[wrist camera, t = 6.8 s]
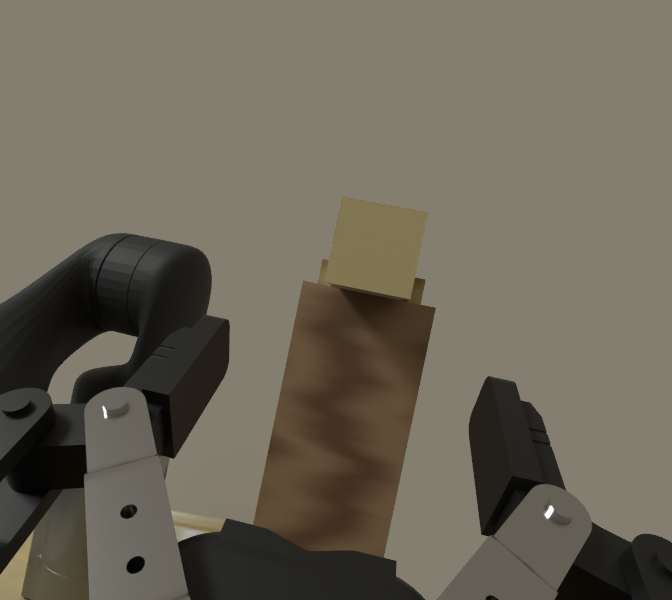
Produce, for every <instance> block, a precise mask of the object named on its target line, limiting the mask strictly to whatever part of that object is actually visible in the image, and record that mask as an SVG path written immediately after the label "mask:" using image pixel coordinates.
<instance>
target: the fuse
mask: <svg viewBox="0 0 672 600" xmlns="http://www.w3.org/2000/svg"><path fill="white" fill-rule="evenodd" d="M427 217H428V212H422V211H417V210H412V209H407V208H401V207H396V206H391V205H385V204H380V203H375V202H369V201H364V200H358V199H353V198H348V197H342V198H341V203H340V208H339V213H338V218H337V222H336V227H335V232H334V237H333V242H332V247H331V251H330V256H329V261H328V266H327V271H326V276H325V281H324V282H326V283H328V284H331V285H333V286H335V287H338V288H341V289H346V290H351V291H356V292H361V293H366V294H371V295H375V296H380V297H385V298H390V299H395V300H409V299H411V294H412V289H413V284H414V280H415V274H416V269H417V265H418V260H419V255H420V251H421V246H422V241H423V236H424V232H425V226H426V222H427Z"/></svg>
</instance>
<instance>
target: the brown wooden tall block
mask: <svg viewBox="0 0 672 600" xmlns="http://www.w3.org/2000/svg"><path fill="white" fill-rule="evenodd" d="M328 261H329V260H324V259H323V261H322V265H321V271H320V275H319V280H318V284H317V283H312V282H307V281H303V284H302V289H301V294H300V299H299V304H298V308H297V314H296V318H295V323H294V328H293V333H292V338H291V343H290V347H289V353H288V358H287V362H286V367H285V372H284V377H283V382H282V387H281V392H280V396H279V401H278V407H277V411H276V416H275V421H274V426H273V431H272V436H271V440H270V446H269V450H268V455H267V460H266V465H265V469H264V474H263V479H262V484H261V489H260V494H259V499H258V504H257V508H256V513H255V518H254V523H253V525H255V526H259V527H263V528H267V529H269V530H271V531H272V532H274V533H276V534H278V535H280V536H281V537H283V538H285V539H287V540H289V541H290V542H292V543H294V544H296V545H298V546H299V547H301V548H303V549H305V550H308V551H342V550H354V551H358V552H362V553H366V554H370V555H374V556H378V557H382V558H384V553H385V548H386V543H387V538H388V534H389V528H390V524H391V519H392V515H393V510H394V505H395V500H396V495H397V490H398V486H399V481H400V476H401V472H402V466H403V462H404V457H405V452H406V448H407V442H408V438H409V433H410V428H411V424H412V418H413V414H414V409H415V404H416V400H417V395H418V390H419V385H420V380H421V376H422V370H423V366H424V361H425V356H426V351H427V347H428V342H429V337H430V333H431V328H432V323H433V318H434V314H435V309H436V308H434V307H429V306H424V305H420V304H421V300H422V294H423V290H424V285H425V279H419V278H415V280H414V284H413V289H412V294H411V299H409V300H395V299H390V298H385V297H380V296H375V295H371V294H366V293H361V292H356V291H351V290H346V289H341V288H338V287H335V286H333V285H331V284H328V283H326V282H324V281H325V276H326V271H327V266H328Z"/></svg>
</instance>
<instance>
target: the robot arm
mask: <svg viewBox="0 0 672 600" xmlns="http://www.w3.org/2000/svg"><path fill="white" fill-rule="evenodd" d="M211 284H212V276H211V268H210V265H209V261H208V259H207V257H206V256H205V255H204V253H203V252H201V251H200V250H199V249H197V248H194V247H191V246H188V245H183V244H179V243H174V242H169V241H164V240H159V239H154V238H149V237H144V236H139V235H133V234H125V233H119V234H110V235H106V236H103V237H100V238H98V239H96V240H94V241H92V242H90V243H89V244H87V245H85V246H84V247H82V248H81V249H79V250H78V251H76V252H75V253H73V254H72V255H71V256H69V257H68V258H67V259H65V260H64V261H62V262H61V263H60V264H58V265H57V266H55V267H54V268H53V269H51V270H50V271H48V272H47V273H46V274H44V275H43V276H42V277H40V278H39V279H37V280H36V281H35V282H33V283H32V284H30V285H29V286H28V287H26V288H25V289H23V290H22V291H20V292H19V293H17V294H16V295H14V296H13V297H11V298H9V299H8V300H7V301H5V302H3V303H2V304H0V574H1V573H2V572H3V570H4V569H5V567H6V566H7V565H8V563H9V562H10V561H11V559H12V558H13V557H14V555H15V554H16V553H17V551H18V550H19V549H20V547H21V546H22V545H23V543H24V542H25V541H26V539H27V538H28V537H29V535H30V534H31V532H32V531H33V530H34V533H33V538H32V543H31V548H30V553H29V558H28V563H27V569H26V574H25V579H24V584H23V589H22V594H21V596H22V597H25V598H28V599H30V600H425V599H424V598H423V597H422V595H421V594H419V593H418V592H417V591H416V590H415V589H414V588H413V587H412V586H410V585H409V584H407V583H406V582H405V581H403V580H402V579H400V578H398V577H396V561H394V560H390V559H386V558H382V557H378V556H374V555H370V554H366V553H362V552H358V551H354V550H342V551H308V550H305V549H303V548H301V547H299V546H298V545H296V544H294V543H292V542H290V541H289V540H287V539H285V538H283V537H281V536H280V535H278V534H276V533H274V532H272V531H271V530H269V529H267V528H263V527H259V526H255V525H251V524H247V523H243V522H239V521H235V520H231V519H226V520H225V523H224V525H223V528H222V530H221V532H211V533H204V534H200V535H196V536H193V537H190V538H187V539H185V540H182V541H180V542H178V543H177V538H176V533H175V528H174V524H173V519H172V514H171V509H170V505H169V500H168V495H167V490H166V486H165V478H166V473H167V468H168V463H169V458H175V457H176V455H177V453H178V452H179V450H180V448H181V447H182V445H183V444H184V442H185V440H186V439H187V437H188V435H189V434H190V432H191V430H192V429H193V427H194V426H195V424H196V422H197V421H198V419H199V417H200V416H201V414H202V412H203V411H204V409H205V407H206V406H207V404H208V403H209V401H210V399H211V398H212V396H213V394H214V393H215V391H216V390H217V388H218V386H219V385H220V383H221V381H222V380H223V378H224V376H225V373H226V371H227V368H228V363H229V331H230V330H229V329H230V325H229V321H228V320H227V319H223V318H218V317H213V316H209V315H206V313H207V309H208V305H209V300H210V294H211ZM107 331H115V332H119V333H123V334H127V335H131V336H136V337H138V338H137V342H136V345H135V348H134V351H133V354H132V356H131V359H130V360H129V362H128V363H126V364H124V365H117V366H108V367H101V368H95V369H92V370H88V371H86V372H84V373H82V374H81V375H80V376H79V377H78V378H77V380H76V382H75V385H74V389H73V393H72V398H71V403H70V404H52V401H51V397H50V395H49V394H48V393H47V391H48V387H49V384H50V381H51V379H52V377H53V374H54V373H55V371H56V370H57V368H58V367H59V366H60V365H61V364H62V363H63V362H64V361H65V360H66V359H67V358H68V357H69V356H70V355H71V354H73V353H74V352H75V351H76V350H77V349H79V348H80V347H81V346H82V345H84V344H85V343H86V342H88V341H89V340H91V339H93V338H94V337H96V336H97V335H99V334H101V333H104V332H107ZM469 439H470V447H471V455H472V463H473V471H474V479H475V486H476V495H477V503H478V511H479V519H480V527H481V534H482V535H485V536H489V537H488V538H487V539H486V541H485V542H484V543H483V544H482V545H481V547H480V548H479V549H478V550H477V551H476V553H475V554H474V555H473V556H472V558H471V559H470V560H469V561H468V562H467V564H466V565H465V566H464V567H463V569H462V570H461V571H460V572H459V573H458V574H457V576H456V577H455V578H454V579H453V581H452V582H451V583H450V584H449V586H448V587H447V588H446V589H445V590H444V591H443V593H442V594H441V595H440V596H439V598H438V599H437V600H672V543H671V542H670V541H668V540H666V539H664V538H662V537H659V536H656V535H652V534H641V535H638V536H637V537H636V538H635V539H634V540H633V541H632V542H629V541H627V540H625V539H623V538H621V537H619V536H617V535H615V534H613V533H611V532H609V531H607V530H605V529H603V528H601V527H599V526H598V525H596V524H594V523H593V522H591V518H590V516H589V514H588V512H587V510H586V509H585V507H584V506H583V505H582V503H581V502H580V501H579V500H578V499H577V498H575V497H574V496H573V495H572V494H570V493H569V492H567V491H566V489H565V486H564V483H563V480H562V477H561V474H560V471H559V468H558V465H557V462H556V459H555V456H554V453H553V450H552V447H550V441H549V438H548V435H547V434H546V429H545V426H544V423H543V420H542V417H541V416H540V414H539V413H538V412H537V411H536V409H535V408H534V407H533V406H532V404H531V403H529V402H524V401H521V400H520V396H519V393H518V390H517V386H516V384H515V382H513V381H508V380H503V379H499V378H494V377H489V376H488V377H487V378H486V380H485V382H484V384H483V386H482V389H481V391H480V394H479V396H478V399H477V401H476V404H475V406H474V409H473V411H472V414H471V417H470V422H469Z"/></svg>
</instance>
